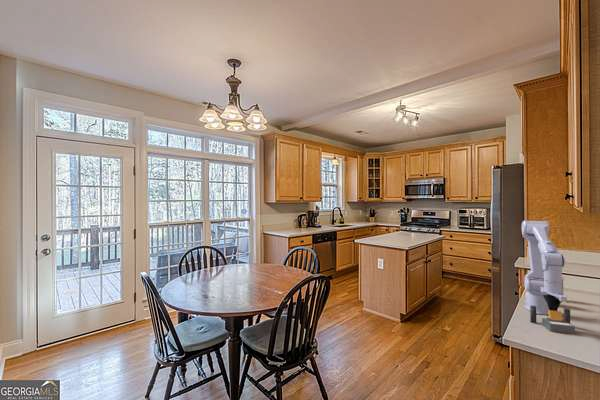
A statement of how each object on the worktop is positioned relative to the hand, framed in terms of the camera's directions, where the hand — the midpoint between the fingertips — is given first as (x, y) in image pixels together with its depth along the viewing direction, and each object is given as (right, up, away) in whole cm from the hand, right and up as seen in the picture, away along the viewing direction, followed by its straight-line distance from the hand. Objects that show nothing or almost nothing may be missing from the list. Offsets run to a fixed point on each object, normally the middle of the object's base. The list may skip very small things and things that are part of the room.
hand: (553, 313), depth 117 cm
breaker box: (-1, -5, -3) cm, 6 cm away
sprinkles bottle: (+34, -7, +34) cm, 48 cm away
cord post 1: (-5, -6, +4) cm, 8 cm away
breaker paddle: (-1, -2, -2) cm, 3 cm away
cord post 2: (+6, -6, 0) cm, 8 cm away
